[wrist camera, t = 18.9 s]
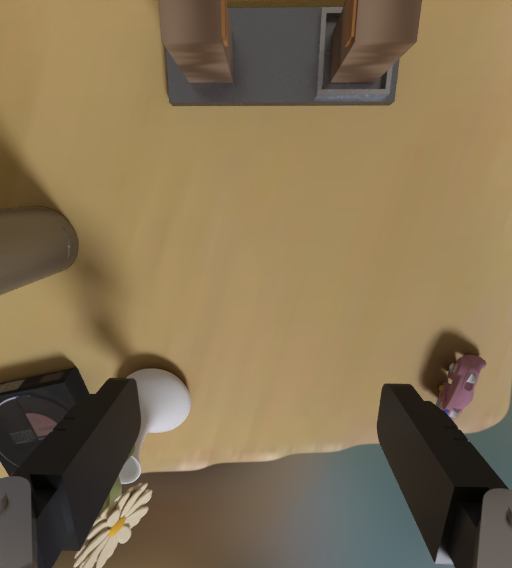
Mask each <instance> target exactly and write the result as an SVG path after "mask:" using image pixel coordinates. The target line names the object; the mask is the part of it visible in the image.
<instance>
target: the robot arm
mask: <svg viewBox="0 0 512 568" xmlns="http://www.w3.org/2000/svg"><path fill="white" fill-rule="evenodd" d="M77 251H78V241H77V237H76V233H75V231H74V229H73V227H72V226H71V225H70V223H69V222H68V221H67V220H66V219H65V218H64V217H63V216H62V215H61V214H59V213H58V212H56V211H54V210H52V209H50V208H46V207H41V206H34V207H19V208H2V209H0V295H2V294H5V293H7V292H10V291H12V290H15V289H17V288H20V287H22V286H25V285H27V284H30V283H33V282H35V281H38V280H40V279H43V278H45V277H48V276H51V275H53V274H56V273H58V272H61V271H63V270H65V269H67V268H68V267H69V266H70V265H71V264H72V263H73V262H74V260H75V258H76V256H77ZM140 427H141V412H140V405H139V397H138V389H137V383H136V380H135V379H134V378H109V379H108V380H107V381H106V382H105V383H104V385H103V386H102V387H101V388H100V389H99V391H98V392H97V393H96V394H90V395H88V396H87V397H85V398H84V399H82V400H81V401H79V402H78V403H76V404H75V405H74V406H73V407H72V408H71V409H70V410H69V411H68V413H67V414H66V415H65V416H64V417H63V420H60V422H59V423H58V424H57V425H56V426H55V427H54V428H53V431H52V432H50V433H49V434H48V435H47V436H46V437H45V438H44V440H43V441H42V442H41V443H40V444H39V445H38V446H37V447H36V449H35V450H34V451H33V452H32V453H31V454H30V455H29V456H28V458H27V459H26V460H25V461H24V462H23V463H22V464H21V465H20V467H19V468H18V469H17V470H16V471H15V472H14V473H13V475H12V476H10V477H5V478H1V479H0V568H53V565H54V564H55V562H56V560H57V558H58V556H59V554H60V553H61V551H62V550H66V551H80V550H81V548H82V546H83V544H84V542H85V540H86V538H87V536H88V534H89V532H90V530H91V528H92V526H93V524H94V522H95V520H96V518H97V516H98V515H99V513H100V511H101V509H102V507H103V505H104V503H105V501H106V499H107V497H108V495H109V493H110V491H111V489H112V487H113V485H114V483H115V481H116V479H117V477H118V475H119V473H120V472H121V470H122V468H123V466H124V464H125V462H126V460H127V458H128V456H129V454H130V452H131V450H132V448H133V446H134V444H135V442H136V440H137V438H138V435H139V432H140ZM377 433H378V439H379V442H380V445H381V447H382V450H383V452H384V454H385V456H386V458H387V460H388V463H389V465H390V467H391V469H392V471H393V473H394V476H395V478H396V480H397V482H398V484H399V487H400V489H401V491H402V493H403V495H404V497H405V499H406V502H407V504H408V506H409V508H410V510H411V512H412V515H413V517H414V519H415V521H416V523H417V526H418V527H419V530H420V532H421V534H422V537H423V539H424V541H425V543H426V545H427V547H428V550H429V552H430V554H431V556H432V558H433V560H434V563H435V564H454V566H455V568H512V490H509V489H508V487H507V486H506V485H505V484H504V483H503V481H502V480H501V479H500V478H499V477H498V475H497V474H496V473H495V472H494V470H493V469H492V468H491V467H490V466H489V464H488V463H487V462H486V461H485V459H484V458H483V457H482V456H481V455H480V453H479V452H478V451H477V450H476V448H475V447H474V446H473V445H472V444H471V442H468V439H467V438H466V436H465V435H464V434H463V433H462V431H461V430H458V427H457V425H456V424H455V423H454V422H453V421H452V419H451V418H450V417H449V416H448V414H447V413H446V412H444V411H443V410H441V409H440V408H439V407H437V406H436V405H435V404H433V403H432V402H430V401H423V399H422V398H421V397H420V395H419V394H418V393H417V391H416V390H415V389H414V387H413V386H412V385H410V384H384V385H383V387H382V392H381V399H380V406H379V413H378V420H377Z"/></svg>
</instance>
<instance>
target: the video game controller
mask: <svg viewBox="0 0 512 568" xmlns="http://www.w3.org/2000/svg"><path fill="white" fill-rule="evenodd" d="M485 366H486V362H485V360H483V359H482V358H481V357H479V356H476V355H464V356H463V357H461V358H459V359H458V360H457V361H456V363H455V364H454V363H452V364H450V366H449V372H448V378H450V379H452V380H453V381H452V384H449V383H447V382H443V384H442V385H440V386H439V390H440V391H439V397H438V400H437V403H436V406H437V407H439V408H440V409H441V410H443V411H444V412H446V413H447V414H448V416H449V417H450V418H451V419H456V418H457V417H458V416H459V414H460V413H461V412H462V410H463V409H464V408H465V407H466V406H467V405H469V403H470V402H471V401H472V399H473V394H474V388H475V385H476V383H477V380H478V377H479V373H480V370H481V369H482V368H484V367H485Z"/></svg>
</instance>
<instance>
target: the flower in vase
mask: <svg viewBox="0 0 512 568" xmlns="http://www.w3.org/2000/svg"><path fill="white" fill-rule="evenodd" d="M126 378H134V379H135V380H136V383H137V389H138V397H139V405H140V412H141V427H140V432H139V435H138V438H137V440H136V442H135V444H134V446H133V448H132V450H131V452H130V454H129V456H128V458H127V460H126V462H125V464H124V466H123V468H122V470H121V472H120V473H119V475H118V477H117V479H116V481H115V483H114V485H113V487H112V489H111V491H110V493H109V495H108V497H107V499H106V501H105V503H104V505H103V507H102V509H101V515H100V516H99V517H98V518H97V519H96V520H95V522H94V524H93V526H92V528H91V531H90V532H89V534H88V536H87V538H86V540H85V542H84V544H83V546H82V548H81V550H80V551H77V553H76V555H75V559H76V558H77V560H76V561H75V564H74V567H77V566H78V565H79V564H80V563H81V564H80V566H79V568H92V567H93V565H94V563H95V562H97V565H96V568H101V567H102V566H103V565H104V564H105V562H106V560H107V559H108V558H109V557H110V556H111V555H112V554H113V551H114V549H115V548H116V546H117V544H118V542H119V543H122V544H123V543H125V542H126V541H127V540H128V539H129V538H130V536H131V528H132V527H133V526H135V525H136V524H137V523H138V522H139V521H140V518H141V517H143V516H144V515H145V514H146V513H147V511H148V507H147V506H146V507H142V506H143V505H144V504H145V503H147V502H148V501H149V500H150V498H151V493H152V490H149V489H146V490H145V488H146V486H147V484H148V483H145V484H143V485H142V483H139V484H138V485H136V486H135V487H134V486H133V487H131V488H129V489H128V490H127V491H126V492H125V493H124V495H123V494H121V484H128V483H131V482H133V481H135V480H136V479H137V478H138V477H139V476H140V473H141V465H140V463H139V453H140V449H141V446H142V443H143V440H144V438H145V436H146V434H147V433H148V432H150V433H160V432H166V431H170V430H172V429H174V428H176V427H177V426H179V425H180V424H181V423H182V422H183V421H184V420H185V419H186V418H187V416H188V414H189V412H190V409H191V397H190V394H189V391H188V389H187V388H186V386H185V385H184V383H183V382H182V381H181V380H180V379H179V378H178V377H176V376H175V375H173V374H172V373H170V372H167V371H165V370H161V369H154V368H153V369H142V370H138V371H136V372H133V373H132V374H130V375H129V376H127V377H126Z"/></svg>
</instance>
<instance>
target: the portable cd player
mask: <svg viewBox="0 0 512 568" xmlns="http://www.w3.org/2000/svg"><path fill="white" fill-rule="evenodd" d="M88 395H90V394H89V392H88V390H87V388H86V385H85V383H84V381H83V379H82V377H81V375H80V373H79V370H78V368H74V369H69V370H65V371H60V372H55V373H50V374H46V375H41V376H36V377H32V378H27V379H22V380H18V381H13V382H8V383H3V384H0V462H1V463H2V465H3V467H4V468H5V470H6V471H7V473H8V475H9V476H12V475H13V473H14V472H15V471H16V470H17V469H18V468H19V467H20V465H21V464H22V463H23V462H24V461H25V460H26V459H27V458H28V456H29V455H30V454H31V453H32V452H33V451H34V450H35V449H36V447H37V446H38V445H39V444H40V443H41V442H42V441H43V440H44V438H45V437H46V436H47V435H48V434H49V433H50V432H52V431H53V428H54V427H55V426H56V425H57V424H58V423H59V422H60V420H63V417H64V416H65V415H66V414H67V413H68V411H69V410H70V409H71V408H72V407H73V406H74V405H75V404H76V403H78V402H79V401H81V400H82V399H84V398H85V397H87V396H88Z"/></svg>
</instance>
